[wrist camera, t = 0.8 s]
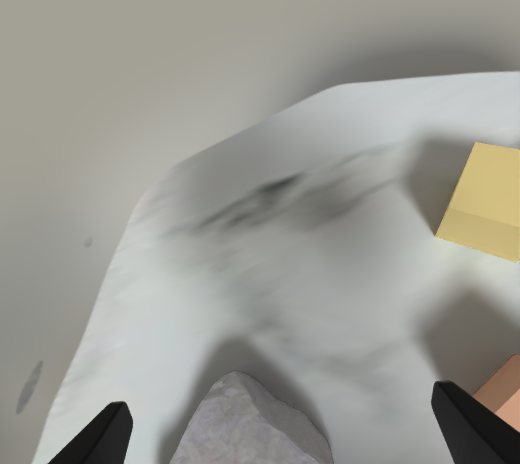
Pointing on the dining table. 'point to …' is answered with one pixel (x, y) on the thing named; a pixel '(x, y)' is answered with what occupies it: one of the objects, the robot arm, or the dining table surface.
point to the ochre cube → (486, 203)
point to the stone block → (249, 428)
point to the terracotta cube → (503, 392)
